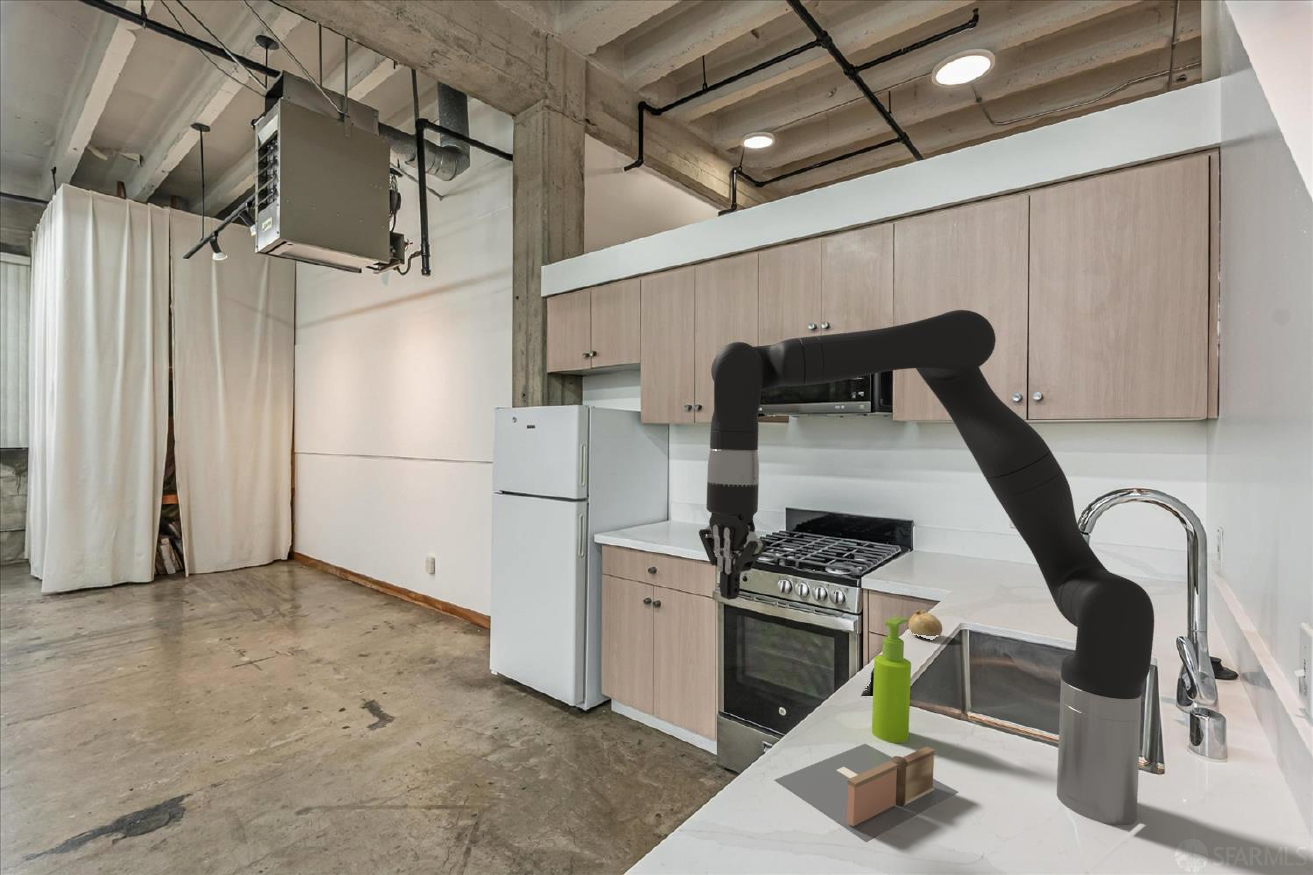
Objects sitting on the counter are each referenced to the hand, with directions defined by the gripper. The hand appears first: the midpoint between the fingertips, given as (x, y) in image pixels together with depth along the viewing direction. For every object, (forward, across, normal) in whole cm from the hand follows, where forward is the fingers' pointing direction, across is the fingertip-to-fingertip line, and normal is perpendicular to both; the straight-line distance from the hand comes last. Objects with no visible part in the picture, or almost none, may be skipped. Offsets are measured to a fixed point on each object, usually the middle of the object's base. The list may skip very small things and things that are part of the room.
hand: (729, 597), depth 91 cm
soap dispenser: (+27, -5, -34) cm, 43 cm away
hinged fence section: (+26, -18, -11) cm, 33 cm away
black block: (+28, +8, -48) cm, 56 cm away
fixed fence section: (+27, -18, -20) cm, 38 cm away
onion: (+27, +24, -88) cm, 96 cm away
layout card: (+27, -13, -16) cm, 34 cm away
